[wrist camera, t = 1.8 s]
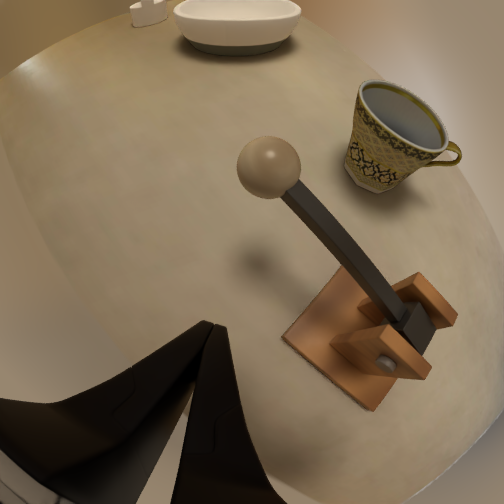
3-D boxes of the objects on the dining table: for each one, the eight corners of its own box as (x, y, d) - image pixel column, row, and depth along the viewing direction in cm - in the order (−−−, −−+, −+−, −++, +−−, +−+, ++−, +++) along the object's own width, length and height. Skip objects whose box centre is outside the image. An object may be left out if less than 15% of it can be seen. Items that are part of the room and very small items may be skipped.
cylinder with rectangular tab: (169, 20, 44) (165, -19, 33) (133, 30, 42) (125, -9, 31) (166, 12, 47) (162, -23, 35) (133, 21, 45) (127, -14, 34)
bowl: (294, 27, 43) (300, -3, 35) (295, 70, 35) (304, 27, 28) (195, 21, 43) (193, -8, 35) (160, 63, 35) (153, 24, 27)
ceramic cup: (322, 185, 27) (354, 117, 18) (337, 128, 31) (362, 67, 21) (422, 230, 26) (477, 185, 17) (423, 169, 30) (461, 122, 20)
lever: (219, 176, 15) (229, 146, 12) (259, 146, 16) (276, 114, 13) (387, 358, 16) (422, 366, 13) (411, 320, 17) (446, 321, 14)
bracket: (280, 336, 22) (311, 327, 13) (343, 262, 24) (395, 214, 15) (367, 409, 20) (433, 432, 11) (418, 334, 22) (489, 318, 13)
